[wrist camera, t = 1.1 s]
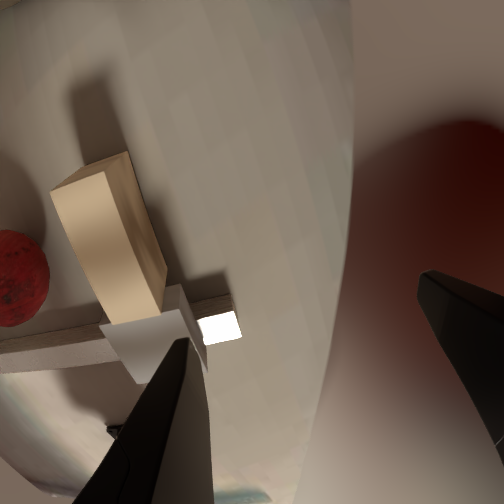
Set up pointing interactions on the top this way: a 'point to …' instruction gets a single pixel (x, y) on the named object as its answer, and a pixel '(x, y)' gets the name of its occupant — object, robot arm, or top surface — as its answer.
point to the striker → (125, 265)
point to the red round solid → (21, 278)
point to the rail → (105, 340)
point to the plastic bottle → (7, 3)
